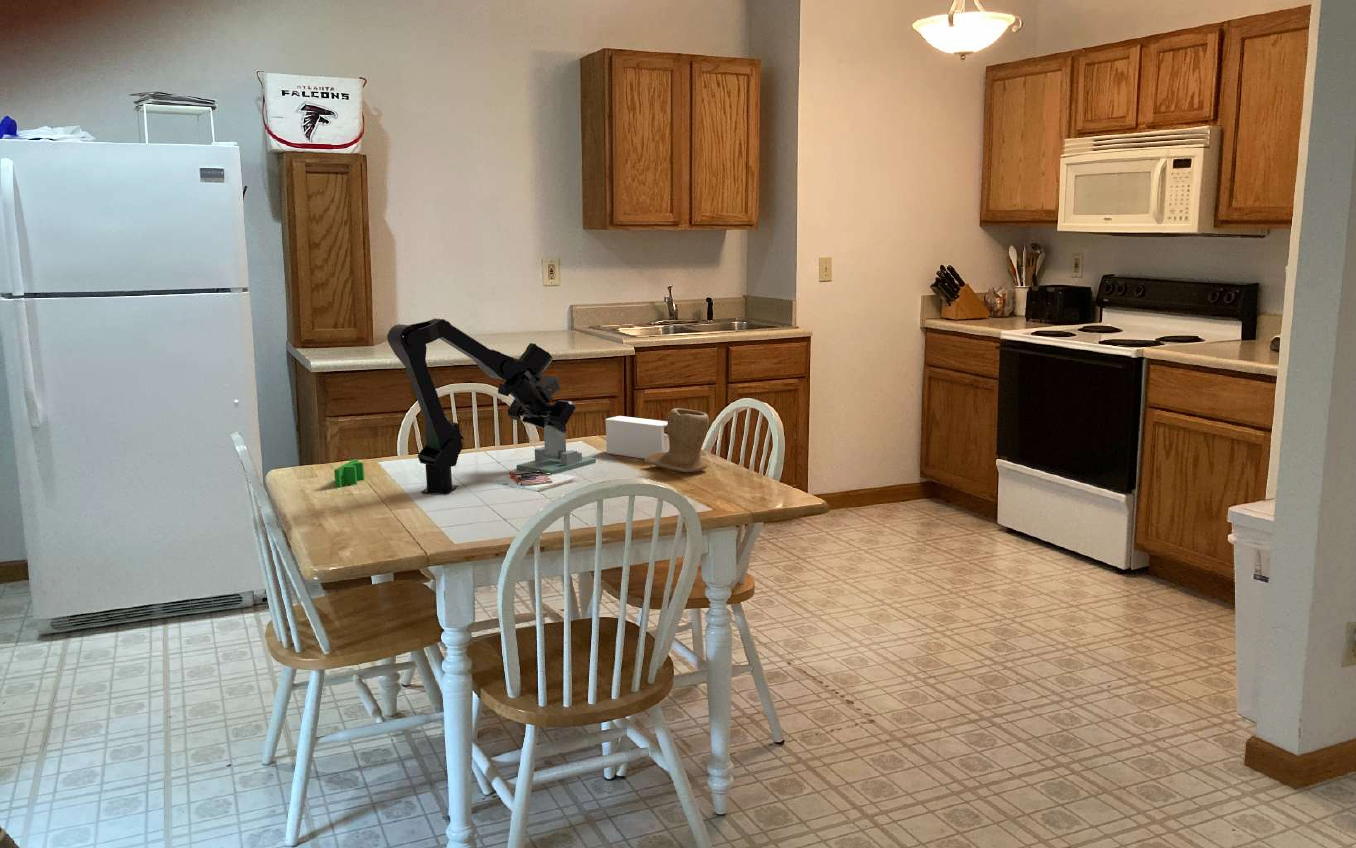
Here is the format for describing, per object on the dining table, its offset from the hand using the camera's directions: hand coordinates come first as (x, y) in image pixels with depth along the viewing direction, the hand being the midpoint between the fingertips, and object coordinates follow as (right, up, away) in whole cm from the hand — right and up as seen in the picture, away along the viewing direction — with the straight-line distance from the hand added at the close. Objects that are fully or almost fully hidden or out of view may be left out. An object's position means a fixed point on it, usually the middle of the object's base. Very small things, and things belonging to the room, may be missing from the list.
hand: (558, 430), depth 274 cm
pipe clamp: (-48, -13, -12) cm, 51 cm away
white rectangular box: (+20, -7, +11) cm, 23 cm away
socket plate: (-1, -9, +1) cm, 9 cm away
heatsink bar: (-1, -7, 0) cm, 7 cm away
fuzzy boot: (+31, -10, -6) cm, 33 cm away
